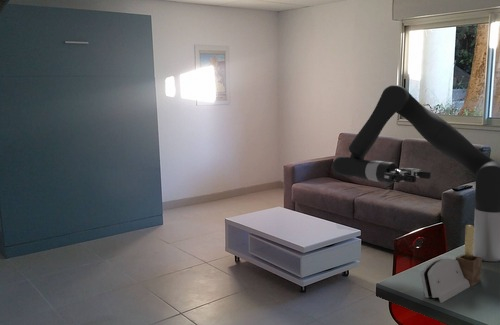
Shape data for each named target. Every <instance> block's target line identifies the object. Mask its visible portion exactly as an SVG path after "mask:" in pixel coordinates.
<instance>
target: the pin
mask: <svg viewBox="0 0 500 325" xmlns="http://www.w3.org/2000/svg"><path fill="white" fill-rule="evenodd" d="M464 230H465V232H464V234H465V236H464V253H463V254H464V259H467V260H470V261H473V246H474V225H472V224H465V229H464Z"/></svg>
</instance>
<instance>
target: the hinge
mask: <svg viewBox="0 0 500 325" xmlns="http://www.w3.org/2000/svg"><path fill="white" fill-rule="evenodd" d="M420 278H421V283H422V287H423V289H422V290H423V293H424V297H425V298H427V299H428V298H433V299H435V298H438V300H439V303H445V301H447V300H449V299H450V298H453V297H454V296H456V295H458V294H460V293H461V292H463V291H466V290H467V289H468V288H470V287H471V286H470V284H469V281H468V280H467V279H465V278H464V276H463V273H462V271H461V268H460V265H459V263H458V261H457V260H456V259H452V258H442V259H441V258H440V259H438V260H437V259H436V260H434V261H432V262H430V263H429V264H428V265H426V266H425V267H424V268H423V269H422V271H421V273H420Z"/></svg>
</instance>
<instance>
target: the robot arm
mask: <svg viewBox="0 0 500 325" xmlns="http://www.w3.org/2000/svg"><path fill="white" fill-rule="evenodd" d="M396 113H397V114H398V115H399V116H401V117H403V119H405V120H406V121H408V123H410V124H411V126H413V127H414V129H415V130H416V131H417V132H418V133H419V134H420V135H421V136H422V137H423V139H425V141H427V142H428V143H429V144H430V145H431V146H433V147H434V148H435V149H437V150H438V151H439V152H440V153H442V154H443V155H445V156H447V157H449V158H451V159H452V160H453V161H454V160H455V161H456V162H458V163H459V164H461V165H462V166H463V167H464V168H466V170H468V171H469V172H470V173H471V174H472V175H473V176H474V177H475V193H474V194H475V195H474V221H473V222H474V223H473V224H474V225H473V226H474V246H473V256H477V257H481V258H482V261H485V262H500V163H499V162H498V161H495V160H494V159H492V158H491V157H490V156H488V155H486V154H485V153H484V152H482V151H480V150H479V149H478V148H476V147H475V145H474V144H472V143H471V142H470V141H469V140H468V139H467V138H466V137H465V136H464V135H463V134H462V133H460V132H459V130H458V129H456V128H455V127H453V125H451V124H450V122H447V121H446V120H445V119H443V118H442V117H441V116H439V115H437V114H436V113H434V112H433V111H431V110H429V109H428V108H426V107H425V106H424V105H422V104H421V103H420V102H419V101H418V100H417V99H416V98H415V97H414V96H413V95H412V94H411V93H410V92H409V90H407V89H406V88H405V87H404V86H401V85H398V84H392V85H389V86H387V87H385V88H384V89H383V91H382V93H381V95H380V97H379V98H378V101H377V103H376V106H375V107H374V109H373V111H372V113H371V114H370V116H369V117H368V120H366V122H365V124H363V126H362V128H361V129H360V130H359V132H358V133H357V134H356V136H355V137H354V139H353V140H352V141H351V143H350V144H349V146H348V151H349V152H350V156H338V157H336V158H335V159H334V160H333V162H332V170H333V171H334V173H336V174H337V175H339V176H340V175H341V176H343V177H346V178H352V177H356V178H359V179H363V180H369V181H372V182H378V183H383V184H390V185H391V184H394V183H400V182H402V183H404V182H407V183H408V182H409V183H412V184H413V183H416V182H417V178H418V179H419V178H420V179H427V180H428V179H431V177H432V176H431V173H432V172H430V171H424V170H423V169H421V168H412V167H406V168H405V167H399V166H398V165H397V164H396V163H395V162H393V161H392V162H391V161H383V160H368V159H365V157H366V155H367V154H368V153H369V151H370V150H371V148H372V147H373V146H374V144H375V142H376V141H377V139H378V138H379V136H380V134H381V133H382V130H383V129H384V127H385V126H386V124H387V123H388V121H389V120H390V119H391V118H392V117H393V116H394V115H395V114H396Z"/></svg>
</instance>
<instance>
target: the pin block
mask: <svg viewBox="0 0 500 325" xmlns="http://www.w3.org/2000/svg"><path fill="white" fill-rule="evenodd" d="M455 260H457V261H458V263H459V265H460V268H461V271H462V273H463V276H464V278H465V279H467V280H468V281H469V284H470V287H473V286H475V285H476V284H478V283H480V282H481V281H482V266H483V265H482V263H483V262H482V261H483V260H482V258H481V257H477V256H473V261H470V260H467V259H464V253H462V254H460V255H458V256H456V257H455Z"/></svg>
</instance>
